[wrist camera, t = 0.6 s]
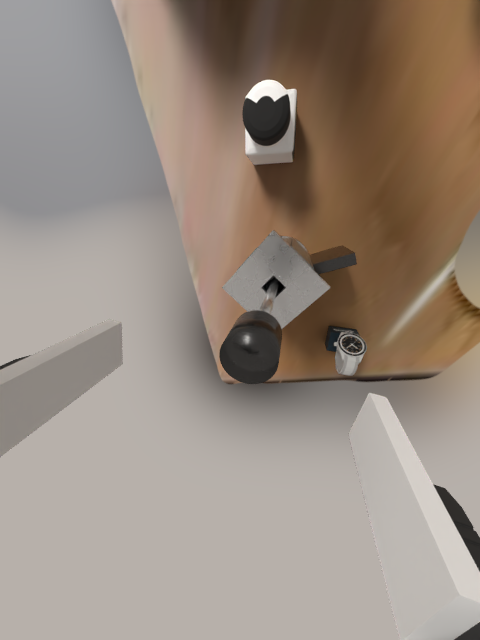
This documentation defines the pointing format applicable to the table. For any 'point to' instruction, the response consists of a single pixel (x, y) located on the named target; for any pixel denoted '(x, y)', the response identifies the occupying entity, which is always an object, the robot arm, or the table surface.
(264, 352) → the plunger
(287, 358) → the table surface
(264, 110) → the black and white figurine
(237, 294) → the press
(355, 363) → the watch
